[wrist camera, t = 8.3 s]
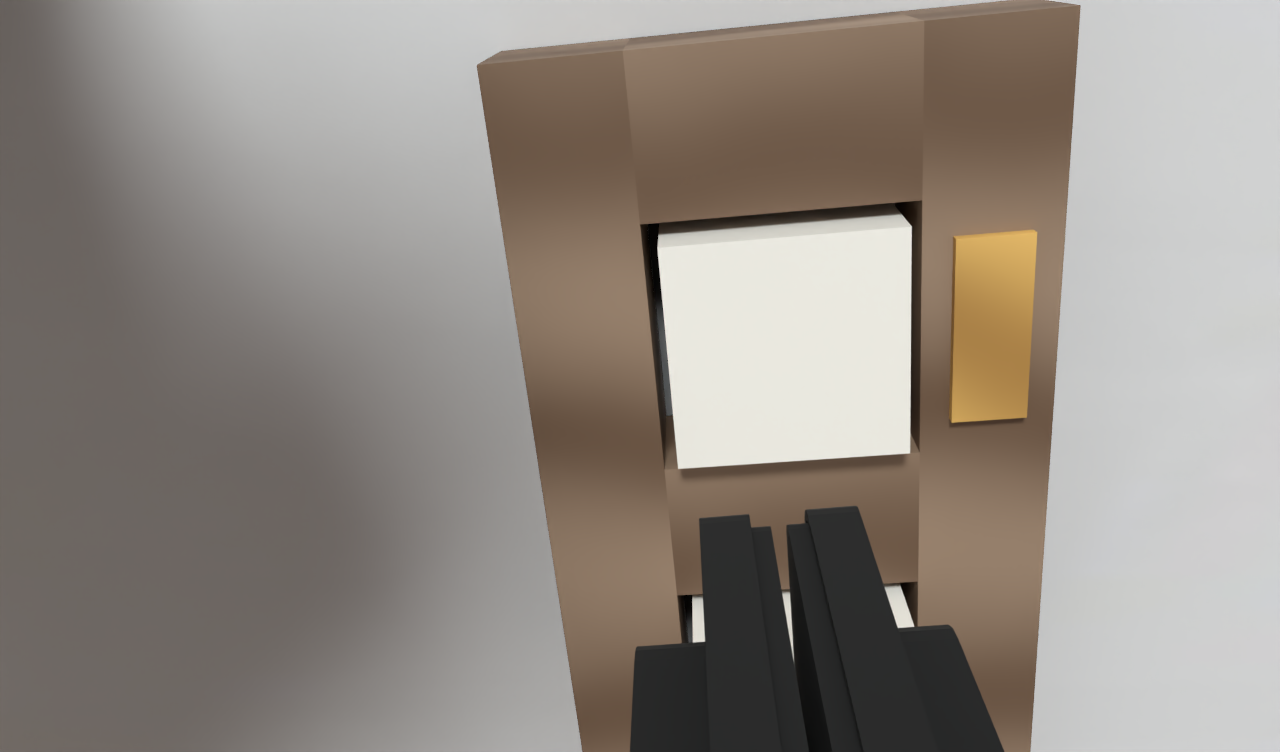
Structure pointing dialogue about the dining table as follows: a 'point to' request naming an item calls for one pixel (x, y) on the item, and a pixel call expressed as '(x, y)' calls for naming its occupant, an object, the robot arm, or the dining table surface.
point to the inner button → (788, 335)
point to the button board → (784, 182)
